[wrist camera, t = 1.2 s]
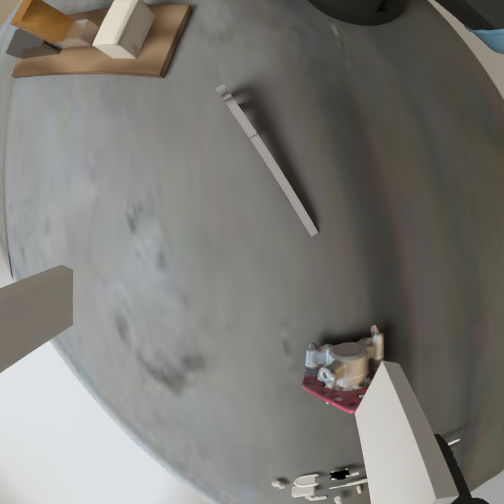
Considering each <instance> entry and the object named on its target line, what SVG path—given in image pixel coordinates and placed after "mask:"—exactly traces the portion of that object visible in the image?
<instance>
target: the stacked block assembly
mask: <svg viewBox="0 0 504 504" xmlns="http://www.w3.org/2000/svg"><path fill="white" fill-rule="evenodd" d="M10 24H11V25H13V26H16V27H18V28H20V29H22V30H24V31H26V32H29V33H31V34H33V35H35V36H37V37H39V38H41V39H43V40H45V43H44V44H46V45H48V46H50V47H52V48H54V49H60V48H68V47H78V46H90V45H91V44H92V42H93V40H94V37H95V35H96V33H97V31H98V29H99V27H98V26H97V25H95V24H94V23H93V22H91V21H90V20H88V19H84V20H78V21H73V20H72V19H71V18H69V17H68V16H66V15H65V14H63V13H61V12H60V11H58V10H57V9H55V8H53V7H52V6H50V5H48V4H47V3H45V2H43V1H42V0H23V1H22V3H21V5H20V6H19V8H18V10H17V12H16V14H15V16H14V18H13V19H12V21H11V23H10ZM12 38H13V36H12V37H11V40H12ZM11 40H10V42H11ZM10 42H9V44H10ZM9 44H8V46H7V49H8V47H9ZM7 49H6V51H7ZM6 51H5V52H6Z"/></svg>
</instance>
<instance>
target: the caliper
mask: <svg viewBox="0 0 504 504" xmlns="http://www.w3.org/2000/svg"><path fill="white" fill-rule="evenodd" d="M216 90H217V92H218V93H219V94H220V96H221V97H222V99H223V100H224V101H225V103H226V104H227V106H228V107H229V109H230V110H231V111H232V113H233V114H234V116H235V117H236V119H237V120H238V122H239V123H240V125H241V126H242V128H243V129H244V131H245V132H246V134H247V135H248V137H249V138H250V139H251V141H252V142H253V144H254V146H255V147H256V149H257V150H258V152H259V153H260V155H261V156H262V158H263V159H264V161H265V162H266V164H267V166H268V167H269V169H270V170H271V172H272V173H273V175H274V177H275V178H276V180H277V181H278V183H279V184H280V186H281V188H282V189H283V191H284V192H285V194H286V196H287V197H288V199H289V201H290V202H291V204H292V205H293V207H294V209H295V210H296V212H297V214H298V215H299V217H300V219H301V220H302V222H303V224H304V225H305V227H306V229H307V230H308V232H309V234H310V235H311V237H312V236H314V235H316V234H317V233H318V231H317V229H316V228H315V226H314V224H313V222H312V221H311V219H310V217H309V216H308V214H307V212H306V211H305V209H304V207H303V205H302V204H301V202H300V200H299V199H298V197H297V196H296V194H295V192H294V191H293V189H292V187H291V186H290V184H289V182H288V181H287V179H286V178H285V176H284V174H283V173H282V171H281V170H280V168H279V166H278V165H277V163H276V162H275V160H274V159H273V157H272V155H271V154H270V152H269V151H268V149H267V148H266V146H265V145H264V143H263V142H262V140H261V139H260V137H259V135H258V134H257V132H256V131H255V129H254V128H253V126H252V125H251V123H250V122H249V120H248V119H247V117H246V116H245V115H244V113H243V112H242V110H241V109H240V107H239V106H238V104H237V103H236V101H235V100H234V99H233V97H232V96H231V94H230V93H229V91H228V90H227V88H226V87H225V86H224V84H223V85H221V86H219V87H218V88H216Z"/></svg>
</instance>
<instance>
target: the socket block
mask: <svg viewBox="0 0 504 504" xmlns="http://www.w3.org/2000/svg"><path fill="white" fill-rule="evenodd" d="M155 17H156V15H155V14H154V13H153V12H152V11H151V10H150V9H149V8H148V6H147V5H146V4H145V3H144V2H143V1H142V0H114V2H113V4H112V6H111V7H110V9H109V11H108V13H107V15H106V17H105V19H104V21H103V23H102V25H101V27H100V29H99V31H98V33H97V35H96V38H95V40H94V42H93V44H92V45H93V46H94V47H96V48H98V49H99V50H101V51H102V52H104V53H105V54H107V55H108V56H110V57H111V58H129V59H137V57H138V54H139V52H140V49H141V47H142V45H143V42H144V40H145V38H146V36H147V33H148V31H149V29H150V27H151V25H152V23H153V21H154V19H155Z"/></svg>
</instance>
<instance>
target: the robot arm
mask: <svg viewBox="0 0 504 504" xmlns="http://www.w3.org/2000/svg"><path fill="white" fill-rule="evenodd" d="M308 1H309V2H310V3H311V4H312V5H314V6H315V7H316V8H317V9H319V10H320V11H322V12H323V13H325V14H327V15H329V16H331V17H333V18H336V19H338V20H341V21H344V22H348V23H352V24H358V25H379V24H383V23H386V22H389V21H391V20H392V19H394V18H395V17H396V16H397V15H398V14H399V12H400V10H401V9H402V7H403V5H404V2H405V0H308ZM435 1H436V2H438V3H439V4H440V5H441V6H443V7H444V8H445V9H446V10H447V11H449V12H450V13H451V14H452V15H453V16H455V17H456V18H457V19H458V20H459V21H460V22H461V23H462V24H464V26H465V28H466V29H467V30H468V31H470V32H472V33H474V34H475V35H476V36H477V37H479V38H480V39H481V40H482V41H483V42H484V43H485V44H486V45H487V46H488V47H489V48H491V49H492V50H493V51H495V52H498V53H501V54H504V0H435ZM72 325H73V270H72V269H70V268H67V267H65V266H63V265H60V266H57V267H55V268H52V269H49V270H46V271H44V272H41V273H38V274H36V275H33V276H31V277H28V278H25V279H23V280H20V281H18V282H15V283H13V284H10V285H7V286H5V287H2V288H0V373H1V372H2V371H4V370H5V369H7V368H8V367H9V366H11V365H13V364H14V363H16V362H17V361H18V360H20V359H21V358H23V357H25V356H26V355H28V354H29V353H31V352H32V351H33V350H35V349H36V348H38V347H39V346H41V345H42V344H44V343H46V342H47V341H49V340H50V339H52V338H53V337H55V336H56V335H58V334H59V333H61V332H62V331H64V330H66V329H67V328H69V327H70V326H72ZM355 416H356V421H357V426H358V430H359V436H360V441H361V446H362V451H363V457H364V462H365V468H366V474H367V480H368V486H369V492H370V499H371V504H489V503H487V502H486V501H485V500H483V499H480V498H472V497H471V494H470V492H469V489H468V487H467V484H466V482H465V480H464V477H463V475H462V473H461V471H460V468H459V466H457V462H456V460H455V457H453V453H452V451H451V449H450V447H449V445H448V443H447V442H446V441H445V440H444V439H443V438H442V437H441V436H440V435H439V434H433V432H432V430H431V428H430V425H429V423H428V421H427V419H426V417H425V415H424V413H423V411H422V409H421V407H420V404H419V402H418V400H417V398H416V396H415V394H414V392H413V390H412V388H411V386H410V384H409V382H408V381H407V379H406V377H405V375H404V373H403V371H402V369H401V367H400V365H399V364H398V363H393V362H387V361H382V362H381V364H380V366H379V368H378V370H377V372H376V374H375V376H374V378H373V380H372V382H371V384H370V386H369V388H368V390H367V392H366V394H365V396H364V397H363V399H362V401H361V403H360V405H359V407H358V408H357V410H356V412H355Z"/></svg>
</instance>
